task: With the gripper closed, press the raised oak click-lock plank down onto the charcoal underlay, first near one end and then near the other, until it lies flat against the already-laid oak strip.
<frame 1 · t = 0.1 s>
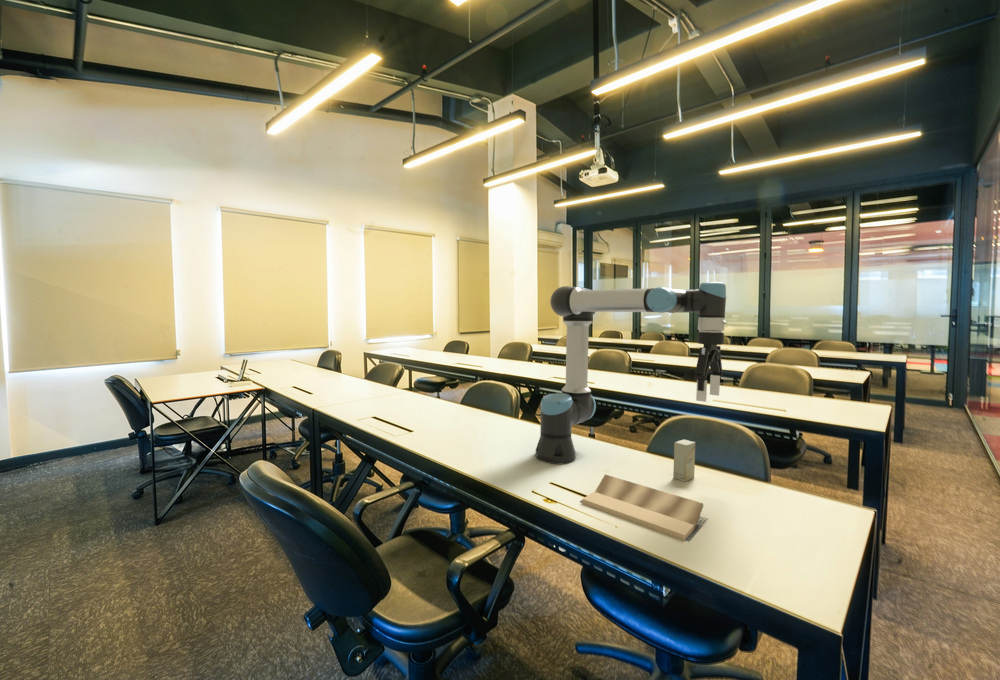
hand: (708, 398, 134), 28 cm above the table, fingers open, 13 cm apart
plank: (645, 498, 116), point 3 cm above the table, hinge at 30.0°
skincare box: (683, 478, 140), on the table
underlay: (641, 513, 114), on the table
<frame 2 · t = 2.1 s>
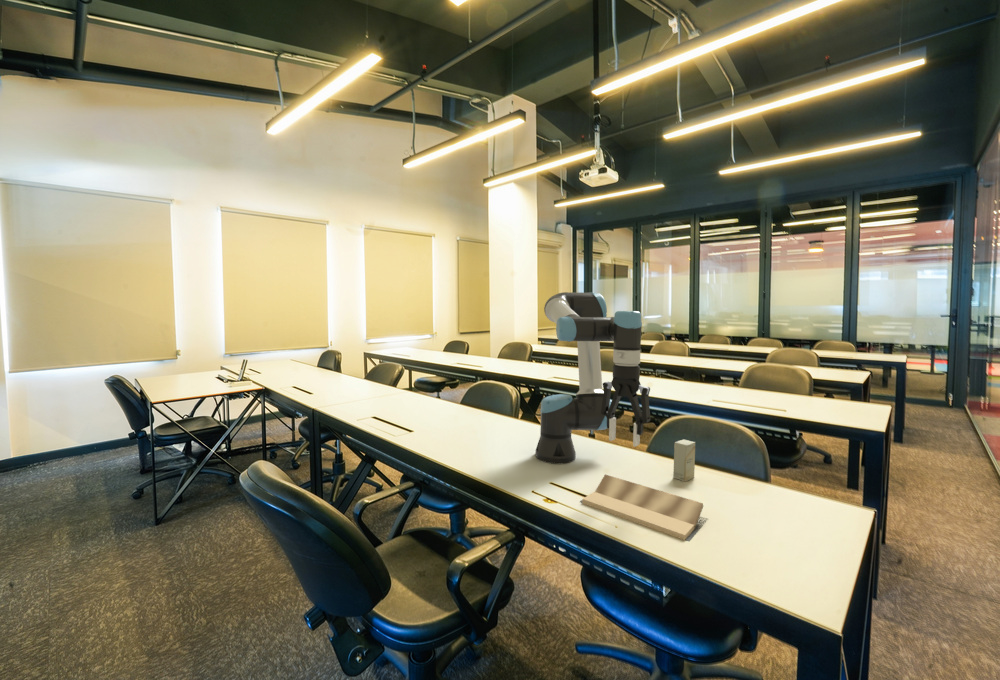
hand: (624, 442, 122), 17 cm above the table, fingers open, 7 cm apart
nothing on the table moved.
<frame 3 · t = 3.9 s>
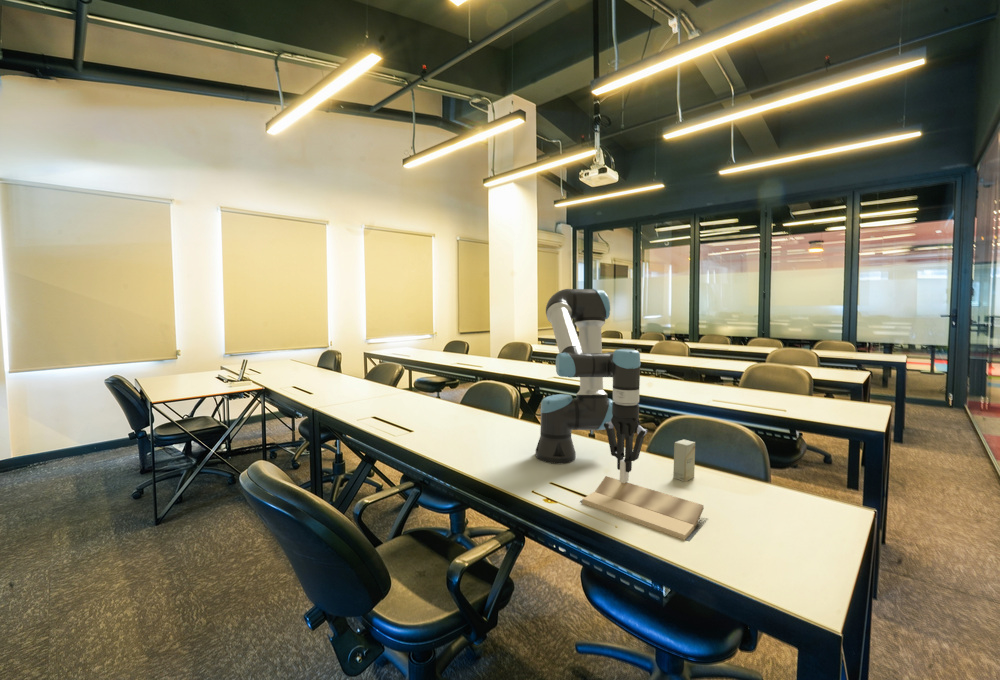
hand: (624, 481, 124), 5 cm above the table, fingers closed
plank: (646, 499, 116), point 3 cm above the table, hinge at 23.5°, touching gripper
everything else where it was.
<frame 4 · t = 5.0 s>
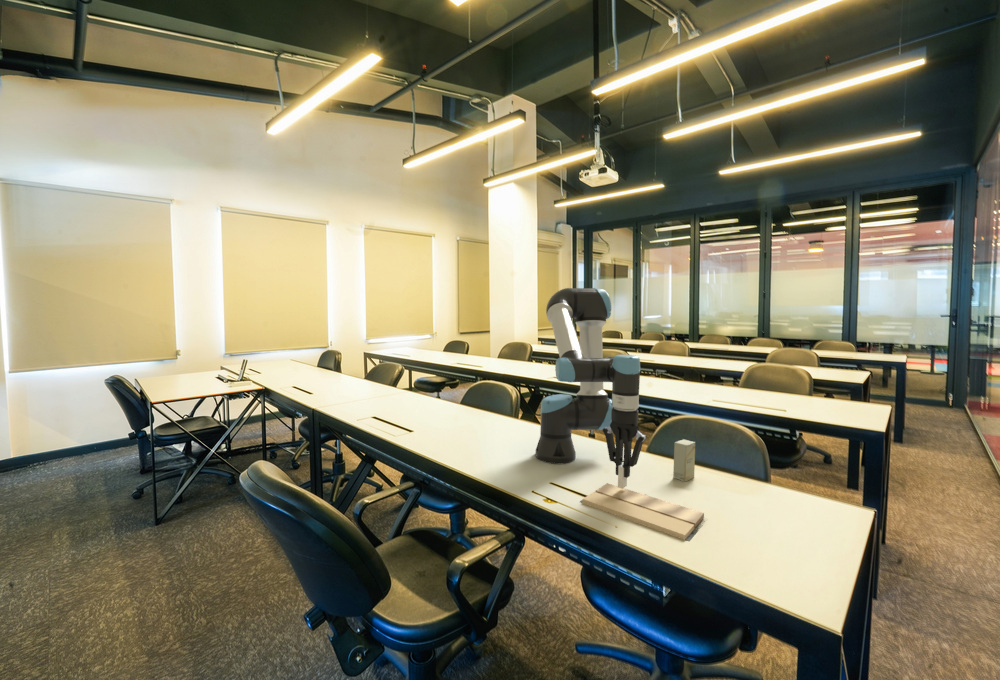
hand: (622, 486, 124), 4 cm above the table, fingers closed
plank: (646, 503, 117), point 2 cm above the table, hinge at 1.4°
everything else where it was.
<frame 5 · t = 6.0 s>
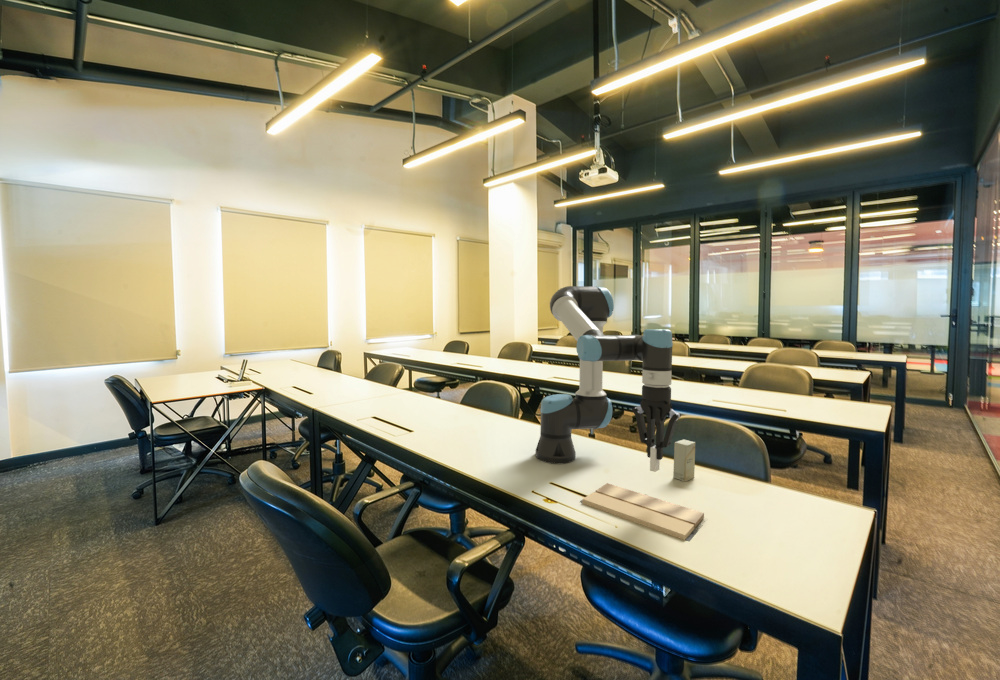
hand: (654, 469, 116), 11 cm above the table, fingers closed
nothing on the table moved.
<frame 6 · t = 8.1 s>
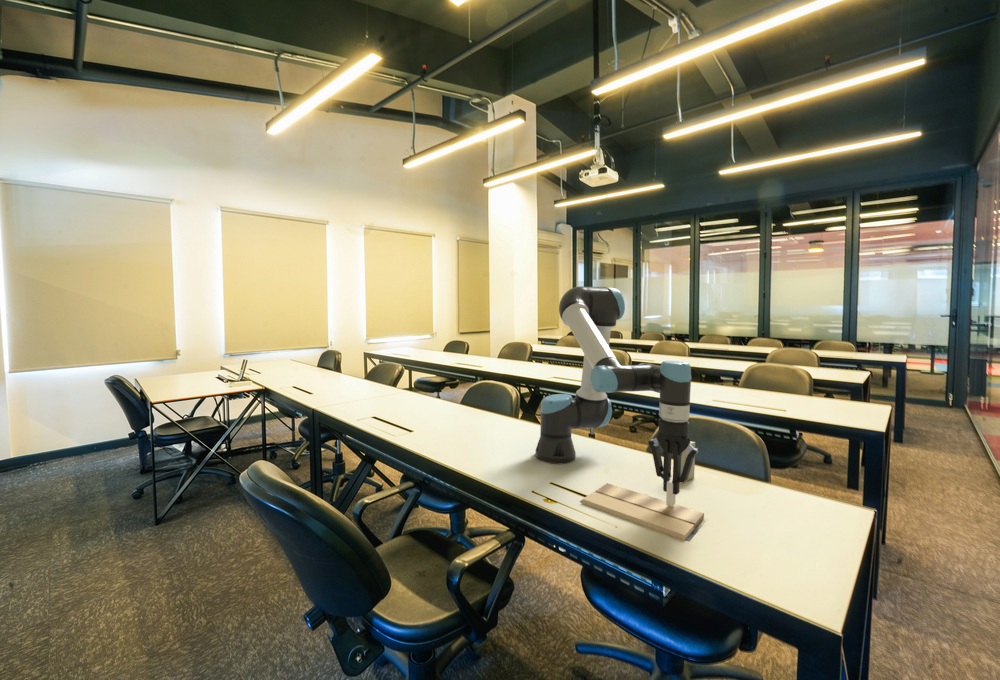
hand: (670, 504, 114), 3 cm above the table, fingers closed
nothing on the table moved.
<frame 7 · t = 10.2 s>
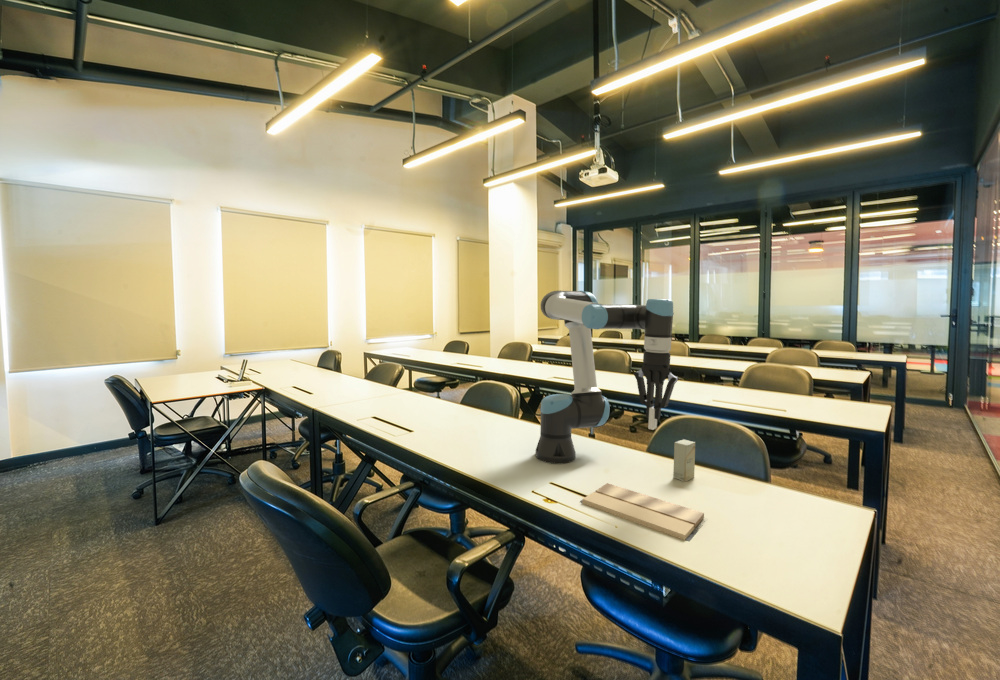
hand: (652, 428, 126), 20 cm above the table, fingers closed
nothing on the table moved.
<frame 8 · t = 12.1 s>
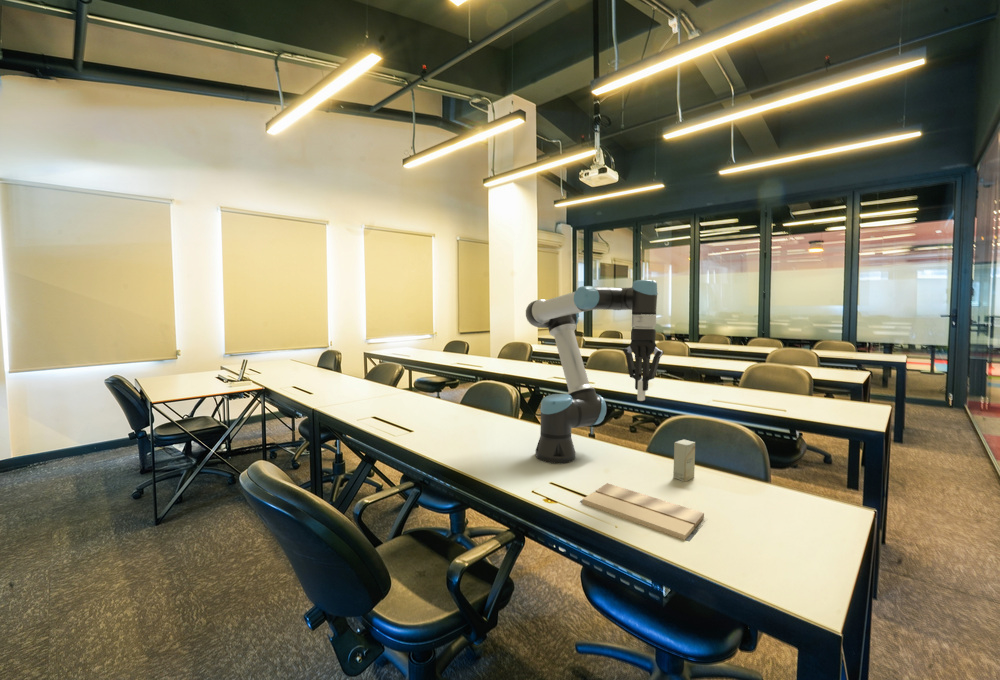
hand: (641, 399, 137), 26 cm above the table, fingers closed
nothing on the table moved.
at the end: plank at +1° (first picture: +30°) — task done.
